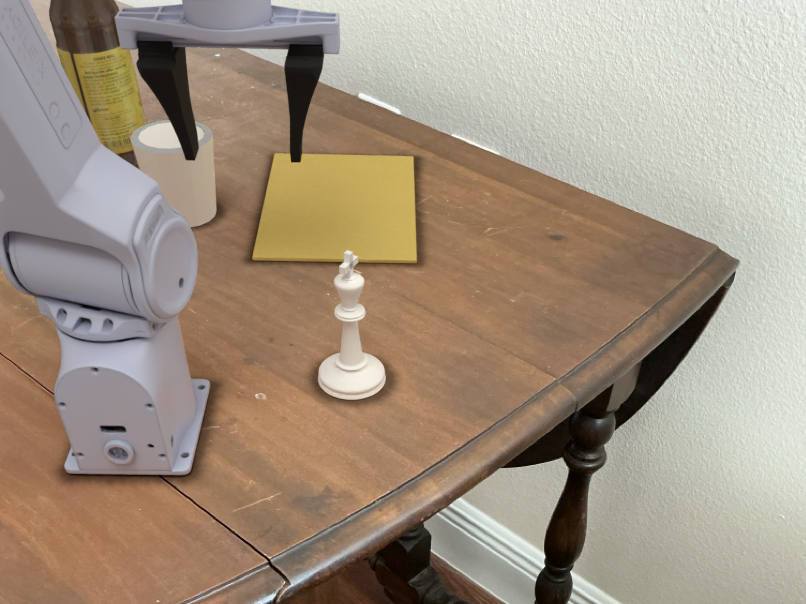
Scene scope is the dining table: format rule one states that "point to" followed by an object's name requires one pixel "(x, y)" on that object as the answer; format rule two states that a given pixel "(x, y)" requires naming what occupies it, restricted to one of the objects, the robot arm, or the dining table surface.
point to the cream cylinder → (179, 169)
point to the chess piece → (350, 343)
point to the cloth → (339, 209)
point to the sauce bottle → (99, 70)
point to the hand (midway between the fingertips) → (244, 155)
